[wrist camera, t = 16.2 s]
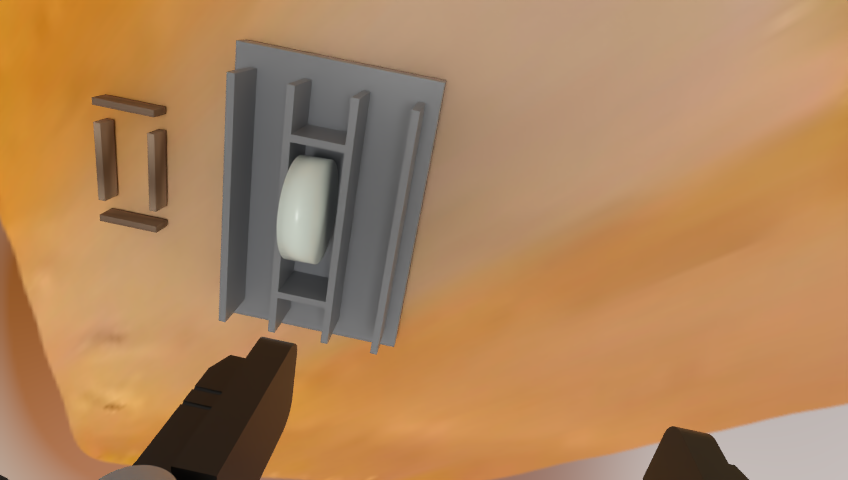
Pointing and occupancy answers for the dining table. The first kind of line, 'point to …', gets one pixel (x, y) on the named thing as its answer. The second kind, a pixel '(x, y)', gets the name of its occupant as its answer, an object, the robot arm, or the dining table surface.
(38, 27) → the dining table surface
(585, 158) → the dining table surface
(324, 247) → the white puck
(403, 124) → the rack
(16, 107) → the dining table surface
